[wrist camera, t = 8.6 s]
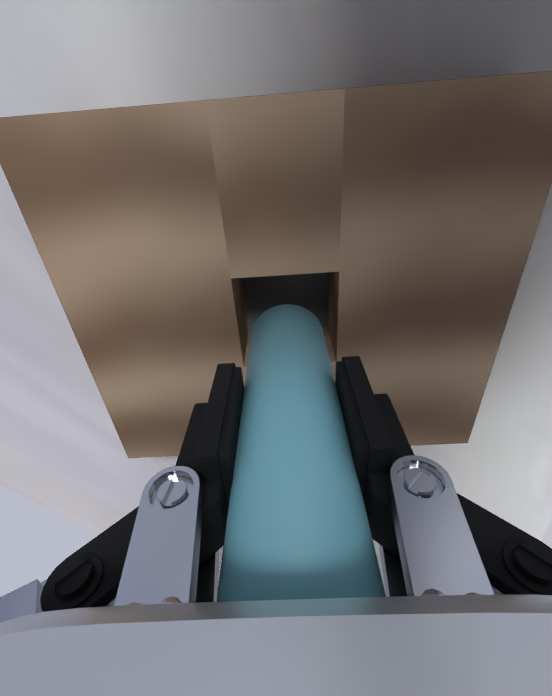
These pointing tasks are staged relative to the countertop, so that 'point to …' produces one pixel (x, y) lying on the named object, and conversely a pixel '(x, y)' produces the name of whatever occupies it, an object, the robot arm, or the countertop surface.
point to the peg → (294, 476)
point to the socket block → (290, 237)
